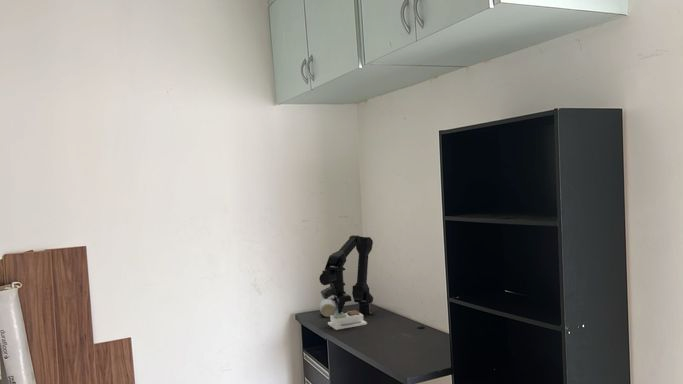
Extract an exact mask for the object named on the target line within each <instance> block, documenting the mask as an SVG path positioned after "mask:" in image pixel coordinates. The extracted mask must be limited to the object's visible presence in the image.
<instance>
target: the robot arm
mask: <svg viewBox="0 0 683 384" xmlns="http://www.w3.org/2000/svg"><path fill="white" fill-rule="evenodd" d="M373 245H374V241H373V239H372V237H370V236H360V235H353V234H352V235H350V236H349V238H348V240H346V241H345V243H343V245H342V246H341V248H340V249H339V250H338V251H337V250H336V251H335V252H332V253H331V254H330V255H329V256H328V258H327V261H326V265H325V266H324V267H325V268H324V270H322V273H321V274H320V275H319V283H320V284H321V285H323V286H327V285H329V286H328V287H326V288H324V289H322V290H321V291H320V294H321V297H322V298H323V300H325V299H329V298H330V297H331V298H330V301H332V302H333V303H334V304H335V305H334V306H335V307H336V309H337V311H338V313H339V314H340V313H341V312H343V309H344V306H345V304H346V303H347V302H352V298H353V301H354V303H357V304H358V305H357V306H358V307H357V308H358V312H359V313H361V314H363V317H364V316H369V315H373V312H371V307H370V304H372V303H373V302H374V296H373V295H372V294H371V293H370V287H369V285H368V282H367V280H368V268H369V267H368V265H369V264H368V263H369V254H370V253H371V251H372V249H373ZM354 249H356V250H357V254H358V260H357V261H358V262H357V272H356V273H357V274H356V275H357V277H356V283H355V284H353V286H352V290H351V291H352V292H351V295H352V296H351V295H350V294H348V293H346V292H347V291H345V286H346V283H345V281H344V271H346V268H345V267H344V266H345V265H346V262H347V257H348V256H349V255H350V253H352V251H353V250H354Z"/></svg>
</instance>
